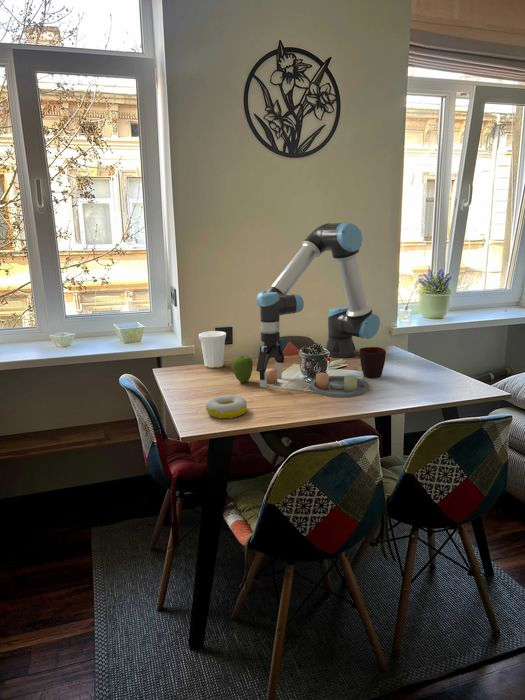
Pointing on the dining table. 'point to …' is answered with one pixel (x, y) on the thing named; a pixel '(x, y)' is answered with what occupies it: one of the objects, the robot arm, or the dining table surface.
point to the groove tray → (340, 387)
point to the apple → (242, 368)
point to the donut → (226, 406)
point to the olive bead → (350, 384)
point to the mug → (372, 361)
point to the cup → (213, 347)
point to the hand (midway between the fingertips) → (271, 382)
